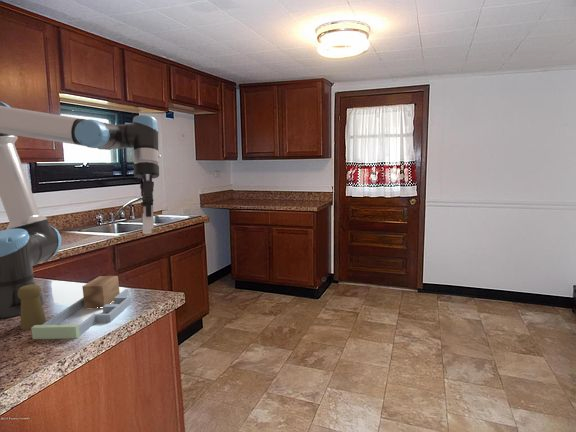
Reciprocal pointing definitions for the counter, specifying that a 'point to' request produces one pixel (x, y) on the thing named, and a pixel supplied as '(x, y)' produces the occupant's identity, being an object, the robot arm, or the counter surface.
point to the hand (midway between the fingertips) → (147, 231)
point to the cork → (31, 307)
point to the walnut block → (100, 291)
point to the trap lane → (75, 330)
